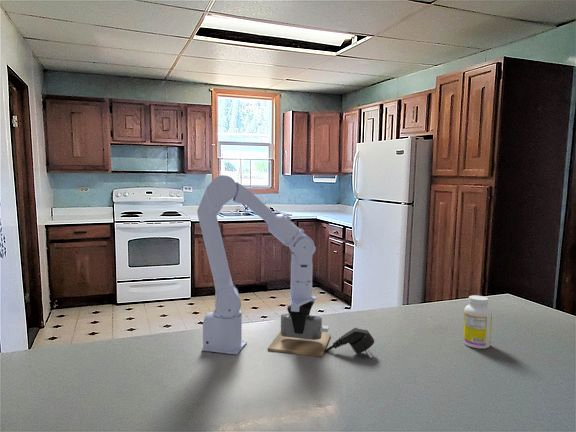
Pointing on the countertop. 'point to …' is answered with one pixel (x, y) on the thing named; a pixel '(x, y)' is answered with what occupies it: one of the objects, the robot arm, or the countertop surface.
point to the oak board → (300, 345)
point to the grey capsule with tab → (311, 327)
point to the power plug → (355, 341)
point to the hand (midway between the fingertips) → (300, 330)
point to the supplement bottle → (477, 323)
